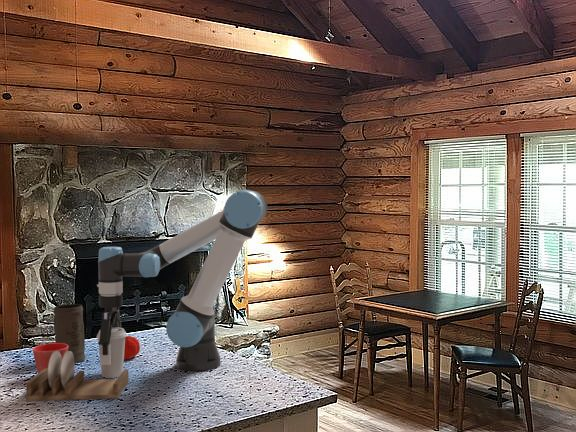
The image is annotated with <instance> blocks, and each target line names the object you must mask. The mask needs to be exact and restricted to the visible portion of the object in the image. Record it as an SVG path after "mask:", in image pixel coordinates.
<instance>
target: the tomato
mask: <svg viewBox="0 0 576 432" xmlns="http://www.w3.org/2000/svg"><path fill="white" fill-rule="evenodd" d="M140 350H141V345H140V341H139V339H138V338H137V337H135V336H132V335H127V336H126V337H125V348H124V360H130V359H132V358H134V357H136V356H137V355H138V354H139V353H140Z"/></svg>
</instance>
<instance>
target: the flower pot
mask: <svg viewBox="0 0 576 432" xmlns="http://www.w3.org/2000/svg"><path fill="white" fill-rule="evenodd" d="M68 347H69V346H68V345H67V344H63V343H55V342H53V343H52V342H51V343H43V344H40V345H36V346H34V347H33V348H32V353H33V357H34V362H35V367H36V370H37V374H38V373H39V372H40V371H42V370H43V369H44V368H48V365H49V360H50V357H51V355H52V353H53V352H54V351H59V352H60V354H61V356H62V359H63V356H64V354H65V352H66V351H68Z"/></svg>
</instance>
